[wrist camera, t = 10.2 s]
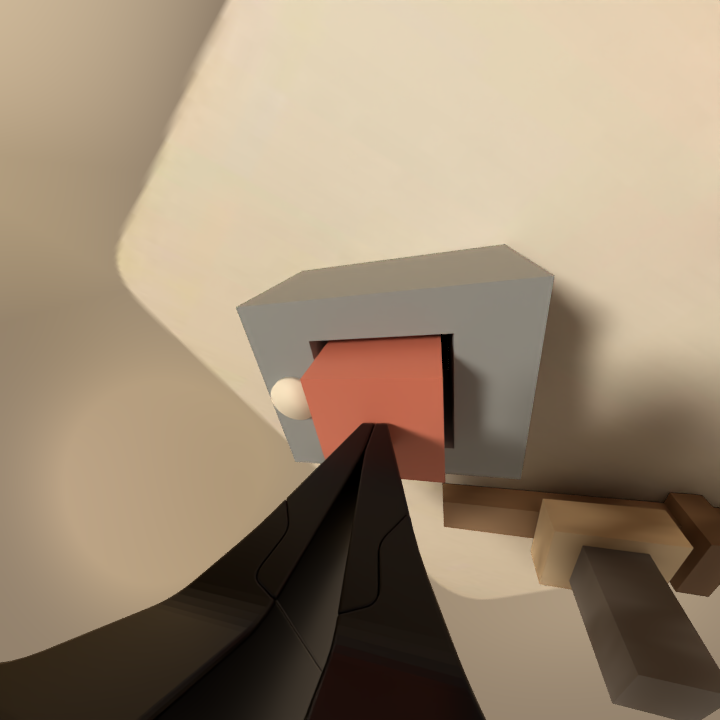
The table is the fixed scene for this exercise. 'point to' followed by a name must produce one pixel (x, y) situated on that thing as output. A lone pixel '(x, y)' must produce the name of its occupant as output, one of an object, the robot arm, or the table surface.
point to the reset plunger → (382, 397)
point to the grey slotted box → (409, 318)
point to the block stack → (629, 603)
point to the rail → (521, 508)
